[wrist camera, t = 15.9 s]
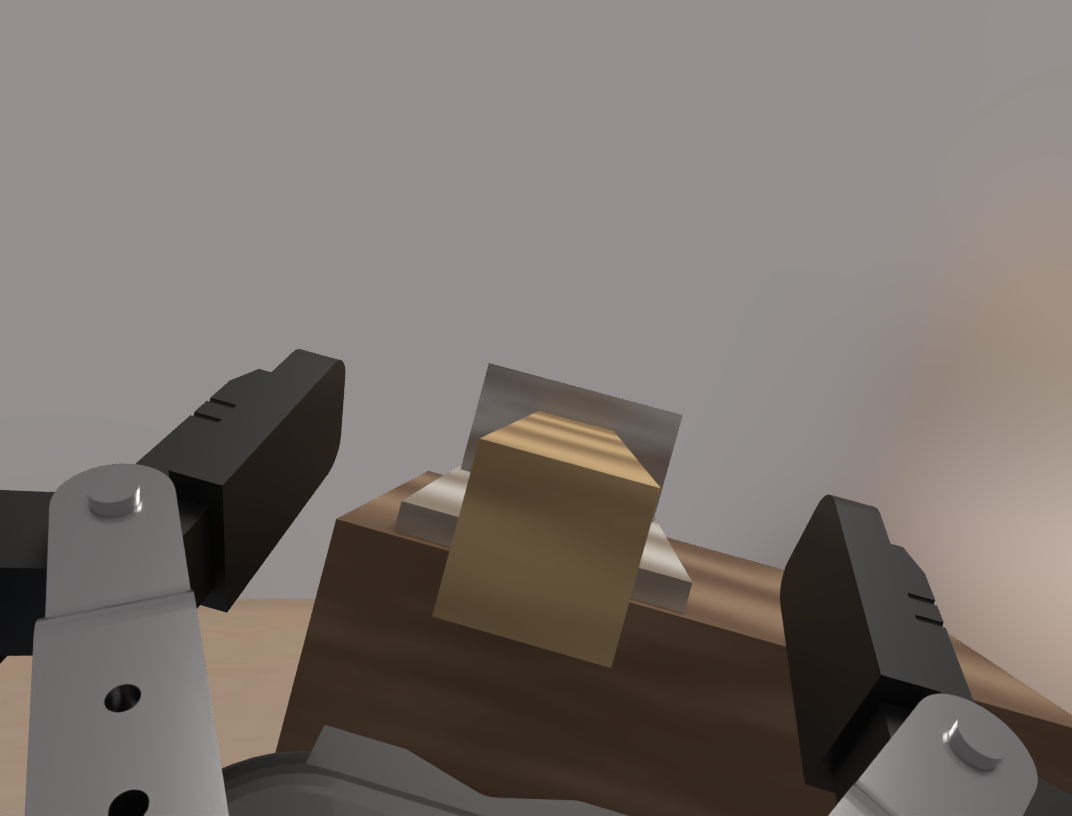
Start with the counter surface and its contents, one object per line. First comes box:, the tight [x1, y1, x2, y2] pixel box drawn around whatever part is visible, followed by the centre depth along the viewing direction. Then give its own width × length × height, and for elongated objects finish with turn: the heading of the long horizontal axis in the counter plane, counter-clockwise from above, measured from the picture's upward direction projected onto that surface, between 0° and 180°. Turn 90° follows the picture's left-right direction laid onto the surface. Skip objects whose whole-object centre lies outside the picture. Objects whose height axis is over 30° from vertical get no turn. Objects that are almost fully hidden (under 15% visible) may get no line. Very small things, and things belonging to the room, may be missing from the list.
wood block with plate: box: [432, 363, 682, 668], centre depth 25 cm, size 22×9×5 cm, turn 176°
